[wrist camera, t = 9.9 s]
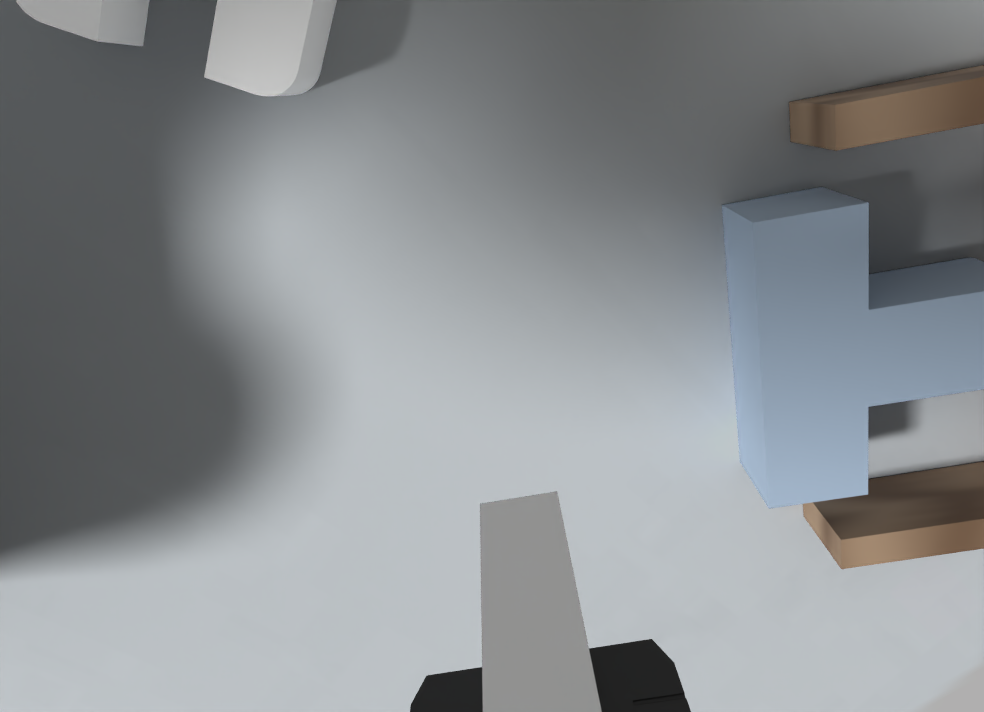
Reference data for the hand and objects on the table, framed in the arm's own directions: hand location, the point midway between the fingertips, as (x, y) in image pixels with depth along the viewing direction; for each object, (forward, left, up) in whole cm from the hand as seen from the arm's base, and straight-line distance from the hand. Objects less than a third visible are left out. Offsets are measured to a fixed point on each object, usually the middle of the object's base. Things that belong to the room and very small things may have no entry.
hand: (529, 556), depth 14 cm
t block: (+14, -4, -18) cm, 23 cm away
